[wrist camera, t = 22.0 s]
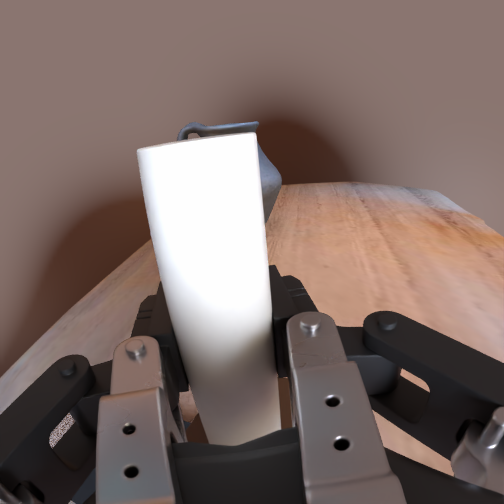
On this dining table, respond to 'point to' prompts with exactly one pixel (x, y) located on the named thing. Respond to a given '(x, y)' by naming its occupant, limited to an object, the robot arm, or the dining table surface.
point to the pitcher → (267, 171)
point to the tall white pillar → (217, 282)
